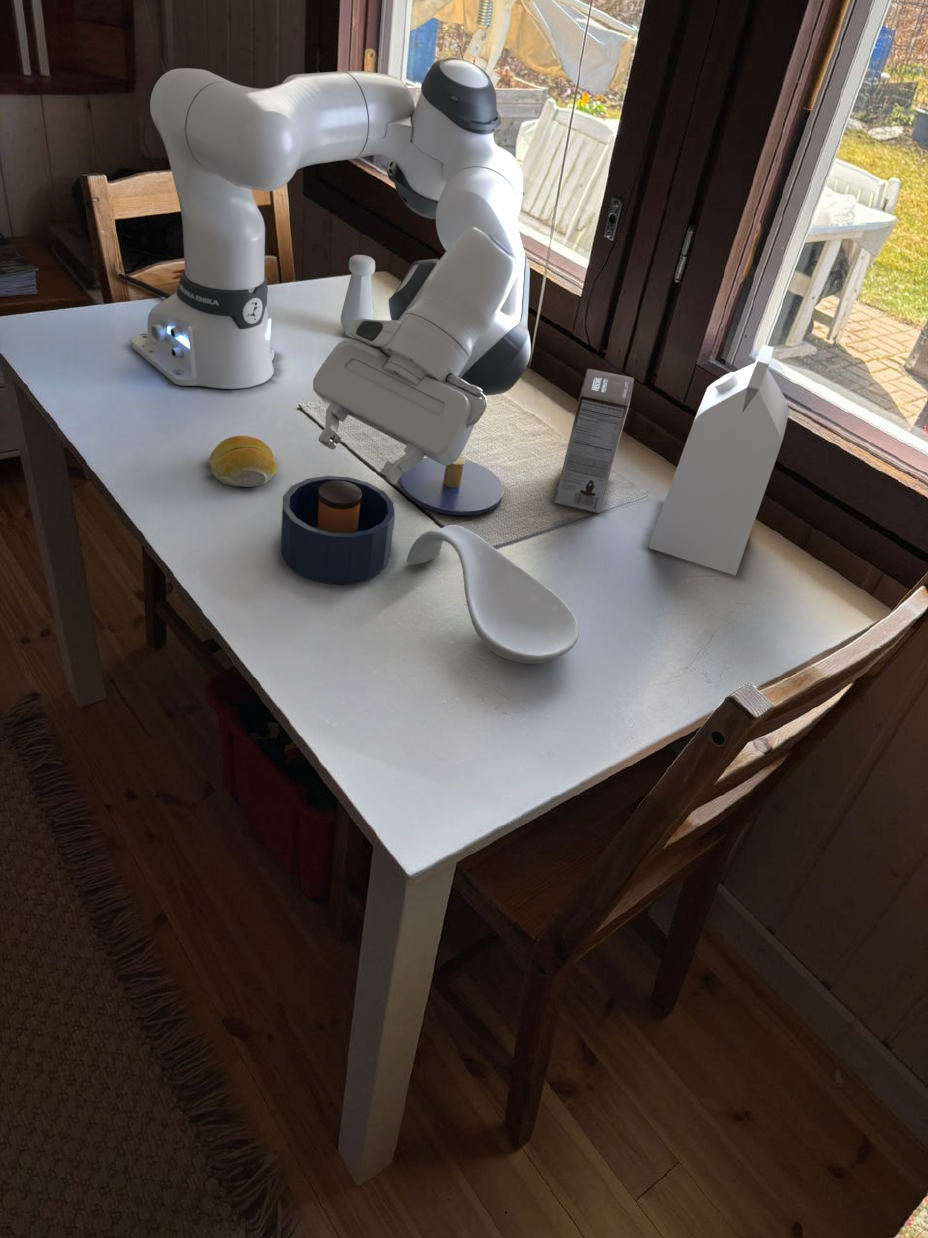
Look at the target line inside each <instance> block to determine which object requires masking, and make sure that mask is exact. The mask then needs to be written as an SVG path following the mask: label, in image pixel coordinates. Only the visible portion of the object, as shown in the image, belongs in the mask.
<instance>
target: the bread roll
mask: <svg viewBox="0 0 928 1238" xmlns="http://www.w3.org/2000/svg"><path fill="white" fill-rule="evenodd" d="M274 457H275V456H274V453H273V451H272V449H271V448H270V447H269V445H268V444H266V443H265V442H264V441H263V440H261V439H259V438H257V437H254V436H250V435H234V436H230V437H227V438H225V439H224V440H222V441H221V442H219V444H217V445H216V446H215V447H214V449H212V452H211V453H210V455H209V460H208V461H209V462H208V464H209V467H210V471H211V473H212V475H213V476H214V477H215V478H216V479H217V480H218V481H219V482H221V483H223V484H225V485H227V486H231V487H239V488H240V487H241V488H255V487H261V486H264V485H265V484H267V483H268V482H269V481H270V480H272V479H273V477H274V476H276V473H277V470H278V467H277V463H276V461H275V458H274Z"/></svg>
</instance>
